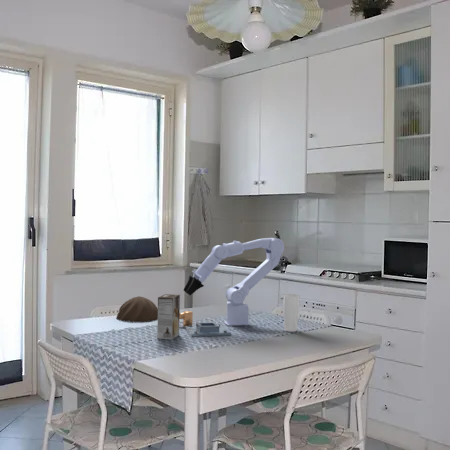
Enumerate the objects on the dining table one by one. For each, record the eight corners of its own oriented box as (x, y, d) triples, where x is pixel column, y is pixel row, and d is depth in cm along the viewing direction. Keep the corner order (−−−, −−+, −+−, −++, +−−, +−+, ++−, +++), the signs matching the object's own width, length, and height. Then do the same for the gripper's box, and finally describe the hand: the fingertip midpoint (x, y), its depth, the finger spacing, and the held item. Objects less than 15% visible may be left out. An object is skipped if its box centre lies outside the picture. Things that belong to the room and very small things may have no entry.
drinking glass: (280, 331, 231) (280, 295, 230) (286, 328, 237) (286, 293, 236) (295, 333, 227) (296, 296, 227) (301, 330, 233) (302, 294, 233)
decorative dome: (132, 313, 267) (133, 292, 267) (167, 317, 259) (168, 295, 259) (107, 319, 250) (108, 297, 250) (144, 323, 241) (145, 301, 241)
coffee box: (164, 333, 221) (164, 293, 221) (179, 334, 220) (180, 294, 220) (156, 338, 212) (157, 297, 212) (172, 339, 211) (173, 297, 211)
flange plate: (222, 327, 236) (222, 320, 236) (231, 335, 221) (231, 327, 221) (185, 328, 233) (185, 321, 233) (191, 336, 217) (191, 329, 217)
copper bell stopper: (191, 324, 241) (191, 311, 240) (193, 326, 237) (193, 312, 237) (177, 325, 239) (178, 311, 239) (179, 327, 235) (179, 312, 235)
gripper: (196, 261, 246) (176, 285, 244) (202, 263, 232) (182, 289, 230) (208, 271, 248) (189, 295, 246) (215, 274, 234) (195, 299, 232)
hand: (186, 292), depth 238 cm, fingers open, 7 cm apart
